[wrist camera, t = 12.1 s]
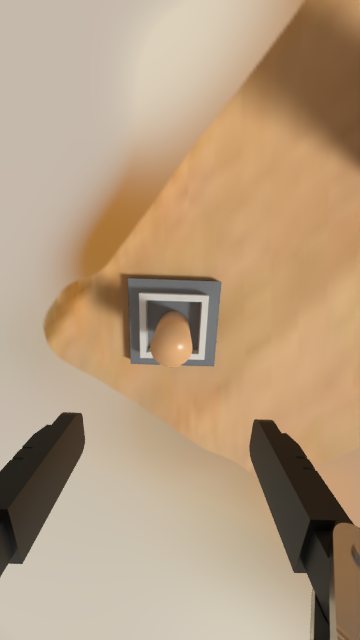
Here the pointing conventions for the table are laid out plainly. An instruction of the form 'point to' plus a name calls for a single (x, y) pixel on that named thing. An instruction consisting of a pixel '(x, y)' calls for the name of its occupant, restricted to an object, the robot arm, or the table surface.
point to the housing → (173, 295)
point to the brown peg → (172, 340)
